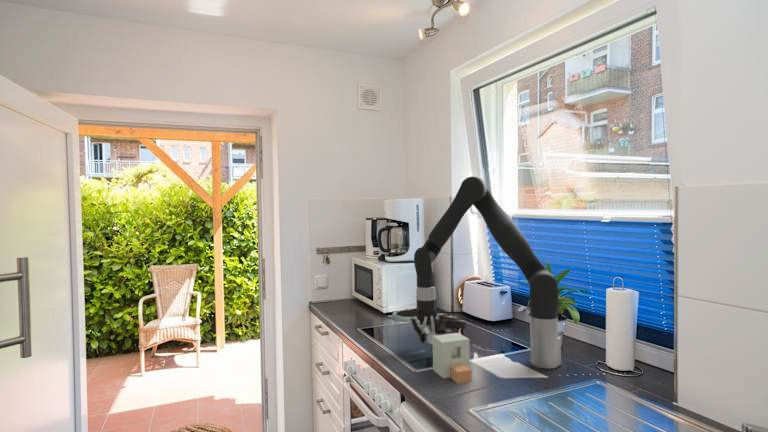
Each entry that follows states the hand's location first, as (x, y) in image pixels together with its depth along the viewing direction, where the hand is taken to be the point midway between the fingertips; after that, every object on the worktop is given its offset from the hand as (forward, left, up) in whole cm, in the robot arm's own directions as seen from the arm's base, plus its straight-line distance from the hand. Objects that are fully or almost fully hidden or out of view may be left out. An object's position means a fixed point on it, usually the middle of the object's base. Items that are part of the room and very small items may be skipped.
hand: (427, 341), depth 167 cm
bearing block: (0, +20, -5) cm, 20 cm away
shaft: (0, +8, +1) cm, 8 cm away
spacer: (0, +27, -5) cm, 27 cm away
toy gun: (-21, -30, -5) cm, 37 cm away
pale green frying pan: (-14, -57, -5) cm, 58 cm away
